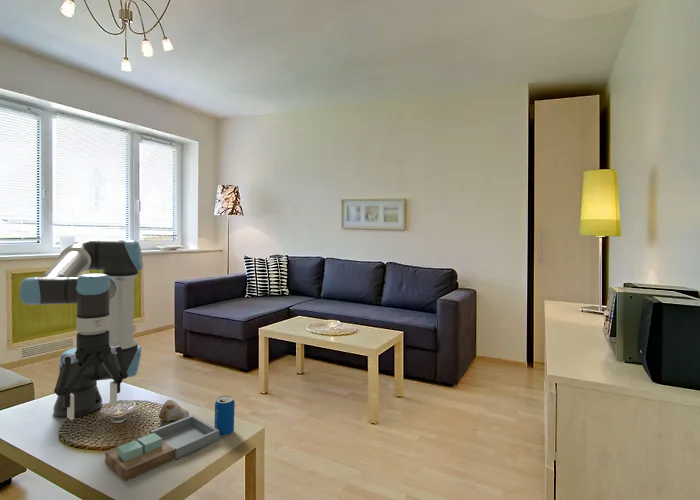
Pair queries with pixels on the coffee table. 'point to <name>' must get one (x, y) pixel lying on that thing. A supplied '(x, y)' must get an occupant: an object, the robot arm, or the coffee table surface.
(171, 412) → the mug
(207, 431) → the tray
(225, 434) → the beverage can
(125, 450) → the tile near
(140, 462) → the walnut board
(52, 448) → the coffee table surface
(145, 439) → the tile far
